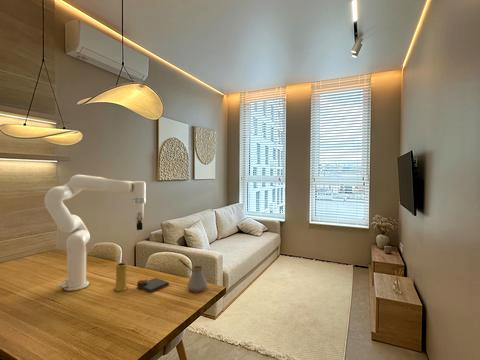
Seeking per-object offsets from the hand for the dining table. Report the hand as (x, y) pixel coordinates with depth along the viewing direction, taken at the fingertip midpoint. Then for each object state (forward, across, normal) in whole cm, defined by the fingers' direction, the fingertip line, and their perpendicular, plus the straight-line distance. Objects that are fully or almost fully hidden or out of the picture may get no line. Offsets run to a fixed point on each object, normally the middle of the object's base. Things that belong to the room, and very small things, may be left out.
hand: (139, 228), depth 163 cm
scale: (+33, +12, +7) cm, 36 cm away
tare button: (+30, +11, +1) cm, 32 cm away
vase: (+33, +9, -10) cm, 35 cm away
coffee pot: (+34, +21, +28) cm, 48 cm away
